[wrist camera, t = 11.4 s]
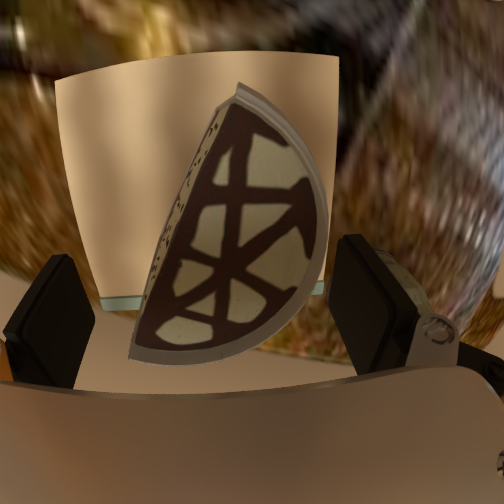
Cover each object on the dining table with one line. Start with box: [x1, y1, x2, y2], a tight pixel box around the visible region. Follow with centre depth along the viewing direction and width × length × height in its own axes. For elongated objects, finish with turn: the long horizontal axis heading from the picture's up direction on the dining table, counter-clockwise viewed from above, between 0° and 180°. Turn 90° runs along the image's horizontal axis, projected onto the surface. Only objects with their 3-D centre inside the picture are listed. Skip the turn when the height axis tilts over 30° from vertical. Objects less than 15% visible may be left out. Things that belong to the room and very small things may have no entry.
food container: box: [128, 82, 329, 367], centre depth 15 cm, size 12×6×10 cm, turn 153°
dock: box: [55, 51, 339, 311], centre depth 21 cm, size 18×18×4 cm
